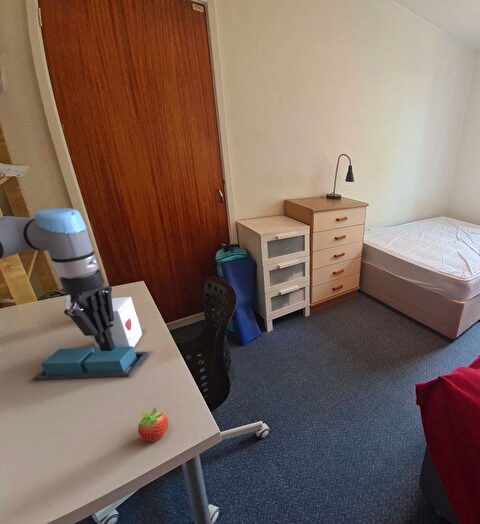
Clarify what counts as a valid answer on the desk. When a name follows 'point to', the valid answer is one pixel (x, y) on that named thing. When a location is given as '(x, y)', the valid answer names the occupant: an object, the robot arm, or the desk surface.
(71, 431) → the desk surface
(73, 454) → the desk surface
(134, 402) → the desk surface
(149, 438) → the fruit
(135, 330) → the rectangular carton
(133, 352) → the loose blue pad
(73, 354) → the seated pad
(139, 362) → the backing tray
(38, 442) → the desk surface
